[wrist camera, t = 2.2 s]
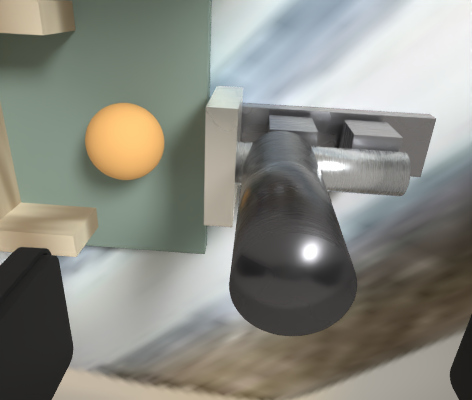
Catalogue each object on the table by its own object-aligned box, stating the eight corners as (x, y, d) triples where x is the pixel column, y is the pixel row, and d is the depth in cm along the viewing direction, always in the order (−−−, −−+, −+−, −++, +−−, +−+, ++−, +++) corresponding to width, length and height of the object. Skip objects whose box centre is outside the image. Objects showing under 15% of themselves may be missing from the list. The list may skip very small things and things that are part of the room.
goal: (72, 0, 18) (37, 0, 15) (98, 226, 23) (76, 256, 20) (-40, -6, 18) (-93, -7, 15) (11, 220, 23) (-23, 249, 20)
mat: (211, -25, 18) (209, -27, 17) (206, 244, 24) (204, 253, 23) (-32, -38, 18) (-47, -40, 17) (24, 231, 24) (15, 240, 23)
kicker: (392, 96, 18) (549, 210, 8) (371, 195, 21) (474, 380, 11) (217, 85, 19) (163, 183, 9) (214, 184, 21) (169, 354, 11)
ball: (170, 97, 19) (152, 116, 16) (172, 166, 21) (155, 195, 18) (98, 93, 19) (66, 110, 16) (104, 161, 21) (77, 189, 18)
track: (430, 114, 20) (435, 118, 19) (415, 171, 21) (420, 176, 21) (211, 100, 20) (209, 104, 20) (210, 157, 22) (208, 162, 21)
